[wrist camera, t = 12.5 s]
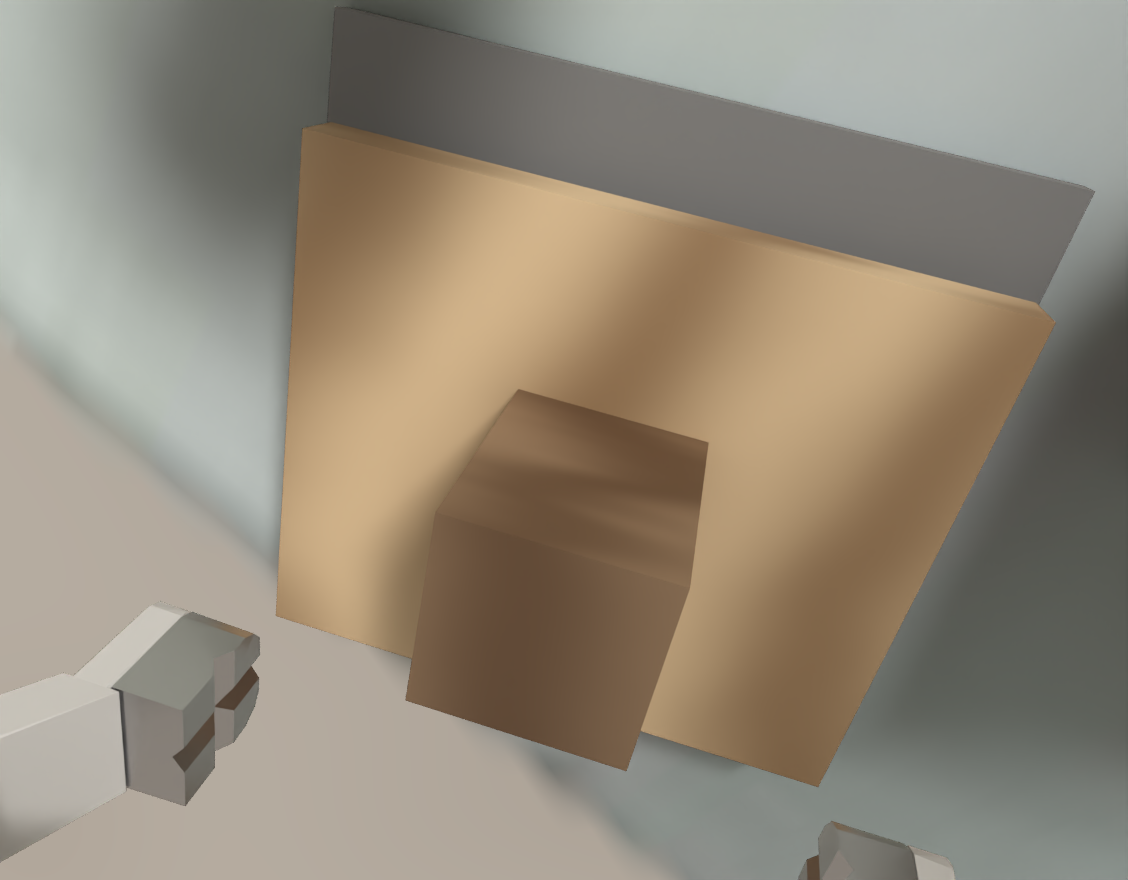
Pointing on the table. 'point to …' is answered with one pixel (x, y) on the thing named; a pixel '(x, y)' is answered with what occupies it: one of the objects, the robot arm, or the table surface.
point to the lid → (619, 452)
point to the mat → (704, 155)
